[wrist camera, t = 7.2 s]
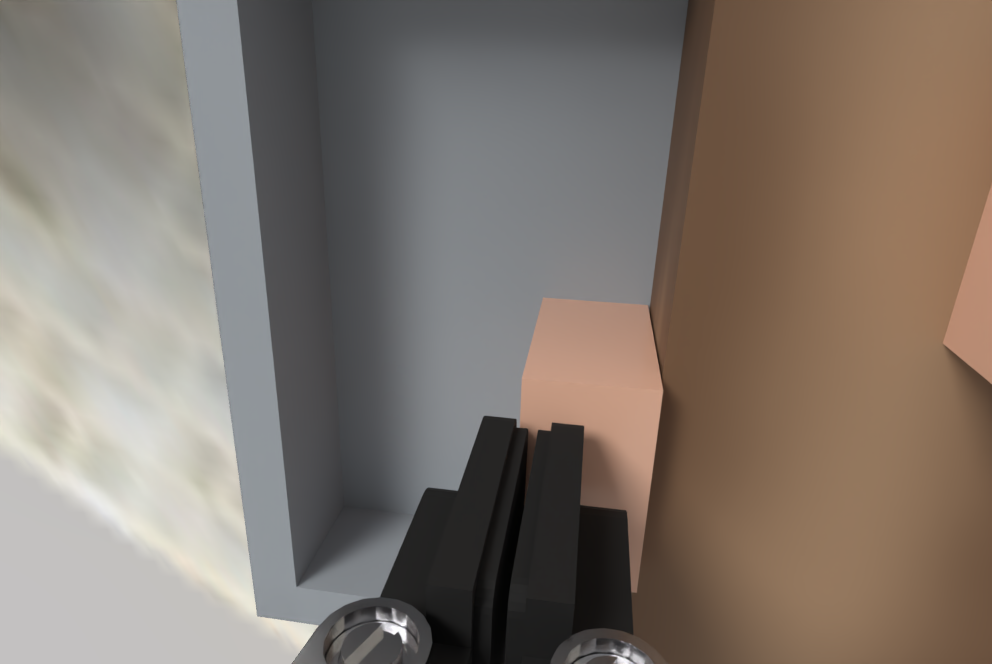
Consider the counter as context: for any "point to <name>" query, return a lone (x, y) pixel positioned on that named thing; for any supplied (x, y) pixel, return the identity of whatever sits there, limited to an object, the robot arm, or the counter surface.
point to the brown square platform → (821, 340)
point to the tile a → (599, 401)
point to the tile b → (975, 303)
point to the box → (407, 240)
